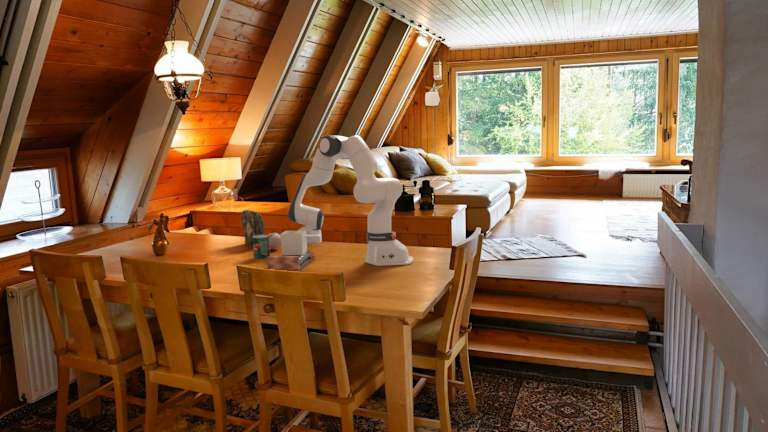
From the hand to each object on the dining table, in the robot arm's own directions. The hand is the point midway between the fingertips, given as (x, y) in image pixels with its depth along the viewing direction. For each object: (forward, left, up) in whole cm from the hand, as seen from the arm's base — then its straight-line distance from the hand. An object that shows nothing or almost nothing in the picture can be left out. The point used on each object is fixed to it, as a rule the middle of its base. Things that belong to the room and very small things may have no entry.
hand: (296, 241), depth 277 cm
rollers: (0, +9, -8) cm, 12 cm away
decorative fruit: (+20, -26, -10) cm, 34 cm away
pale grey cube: (0, +4, -5) cm, 6 cm away
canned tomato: (+20, -6, -10) cm, 23 cm away
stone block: (+35, -36, -10) cm, 51 cm away
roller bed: (0, +10, -10) cm, 14 cm away
